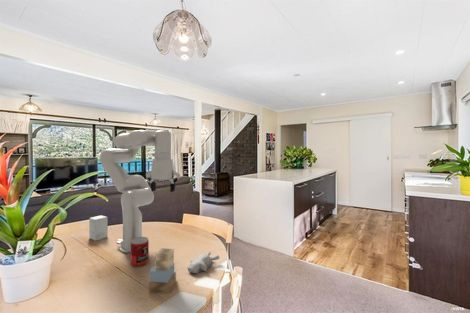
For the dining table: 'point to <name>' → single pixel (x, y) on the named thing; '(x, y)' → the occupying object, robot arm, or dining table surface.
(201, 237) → the dining table surface
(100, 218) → the supplement box
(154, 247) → the dining table surface
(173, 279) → the tower base block
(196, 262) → the white figure shaped piece
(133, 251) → the canned food
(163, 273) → the tower top block
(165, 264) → the maple block
